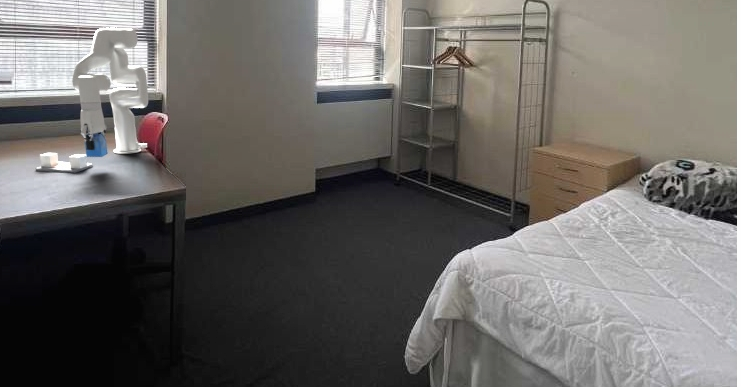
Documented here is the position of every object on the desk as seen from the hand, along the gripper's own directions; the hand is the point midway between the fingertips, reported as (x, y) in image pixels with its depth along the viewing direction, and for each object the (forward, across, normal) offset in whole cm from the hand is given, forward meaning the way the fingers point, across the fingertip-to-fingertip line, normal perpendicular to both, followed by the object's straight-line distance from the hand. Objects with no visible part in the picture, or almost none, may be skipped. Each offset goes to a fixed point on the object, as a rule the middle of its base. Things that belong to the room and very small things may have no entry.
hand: (96, 147), depth 228 cm
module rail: (+10, +1, -15) cm, 18 cm away
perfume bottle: (+4, 0, 0) cm, 4 cm away
